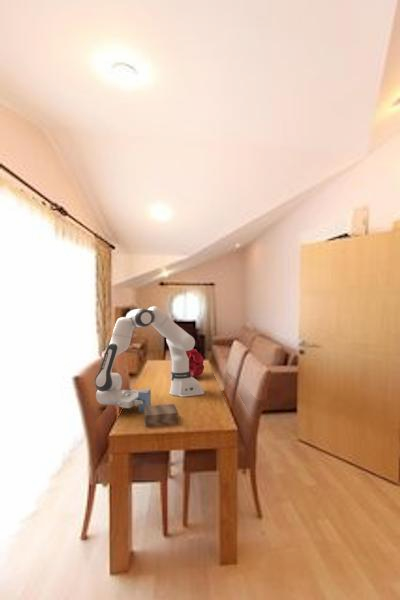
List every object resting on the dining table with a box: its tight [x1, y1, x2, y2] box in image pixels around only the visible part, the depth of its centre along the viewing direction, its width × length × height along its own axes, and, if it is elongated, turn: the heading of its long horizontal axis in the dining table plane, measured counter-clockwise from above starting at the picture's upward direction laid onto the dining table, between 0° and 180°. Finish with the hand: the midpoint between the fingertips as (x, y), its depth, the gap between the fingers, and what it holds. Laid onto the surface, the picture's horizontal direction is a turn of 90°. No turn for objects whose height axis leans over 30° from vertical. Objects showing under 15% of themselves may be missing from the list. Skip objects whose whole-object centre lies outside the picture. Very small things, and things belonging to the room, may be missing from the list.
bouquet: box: [186, 348, 205, 378], centre depth 275 cm, size 22×24×30 cm
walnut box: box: [143, 403, 179, 428], centre depth 182 cm, size 16×14×6 cm
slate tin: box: [137, 387, 152, 414], centre depth 196 cm, size 5×5×12 cm
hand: (146, 400), depth 196 cm, fingers closed on slate tin, 5 cm apart
